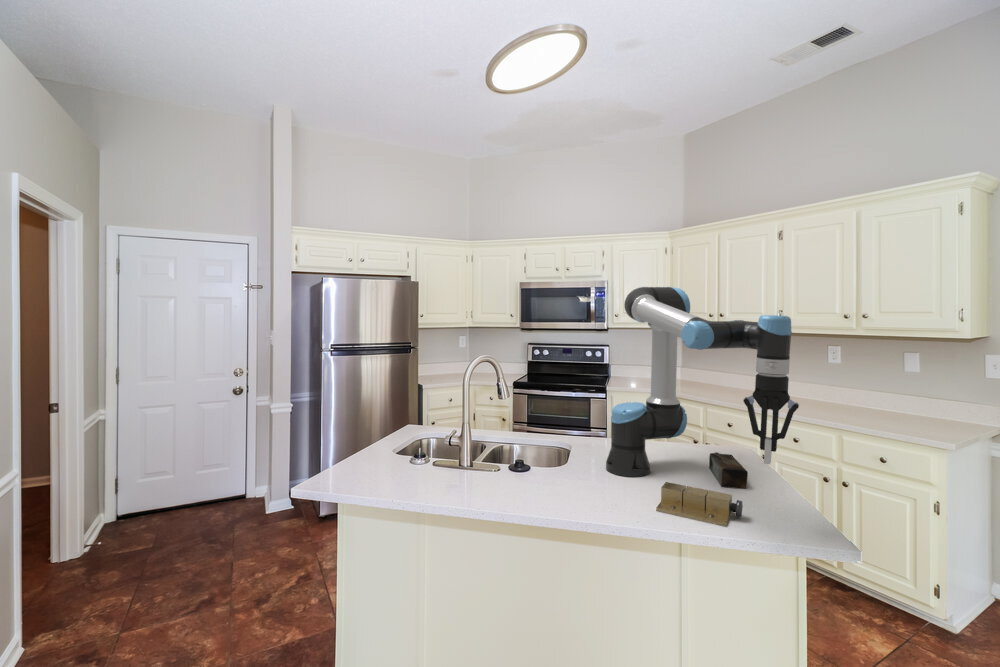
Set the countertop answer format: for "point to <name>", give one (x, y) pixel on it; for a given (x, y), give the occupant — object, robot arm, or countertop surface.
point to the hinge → (695, 503)
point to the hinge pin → (736, 508)
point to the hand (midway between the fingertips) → (767, 462)
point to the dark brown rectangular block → (728, 471)
